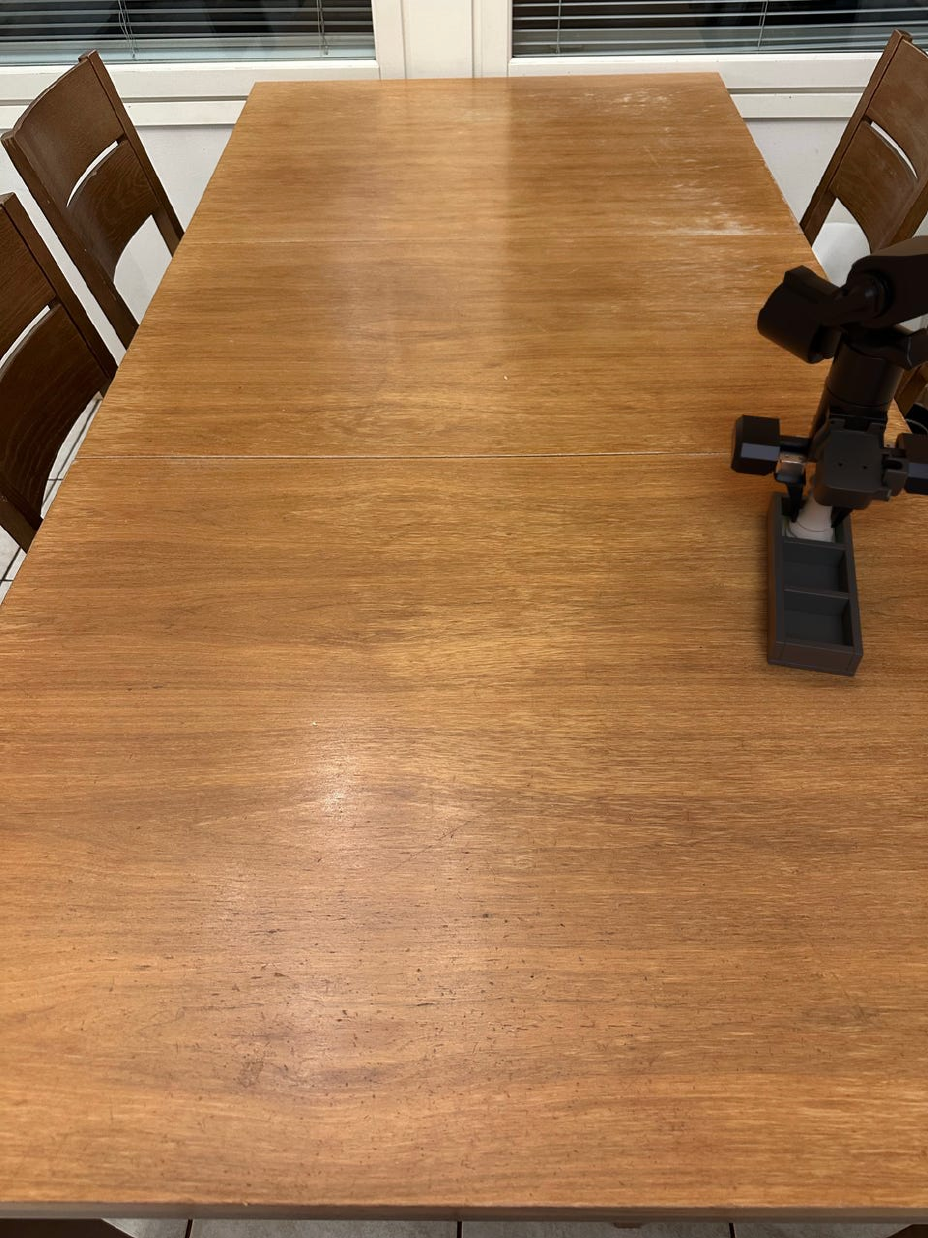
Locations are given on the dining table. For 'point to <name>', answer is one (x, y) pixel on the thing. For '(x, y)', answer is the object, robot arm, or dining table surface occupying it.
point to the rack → (811, 597)
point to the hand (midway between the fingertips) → (812, 522)
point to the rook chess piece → (812, 520)
